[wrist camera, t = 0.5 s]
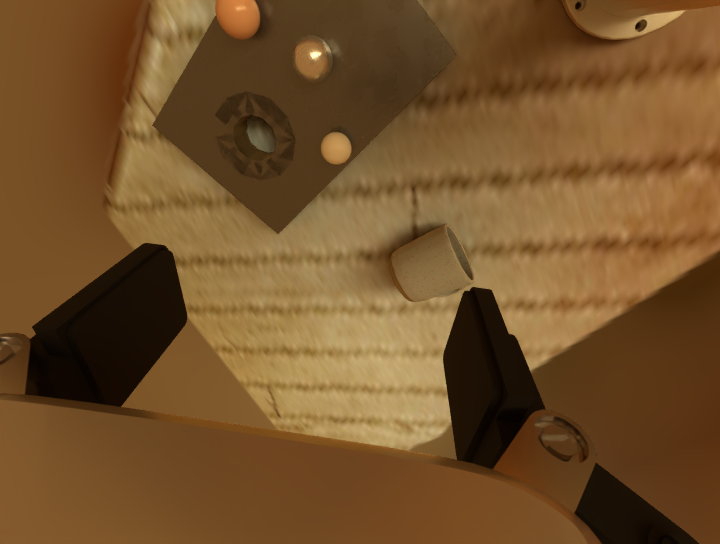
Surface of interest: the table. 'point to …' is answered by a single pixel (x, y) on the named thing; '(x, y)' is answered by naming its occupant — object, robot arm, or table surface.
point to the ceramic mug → (431, 266)
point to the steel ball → (312, 58)
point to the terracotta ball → (238, 17)
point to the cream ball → (336, 148)
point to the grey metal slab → (299, 95)
